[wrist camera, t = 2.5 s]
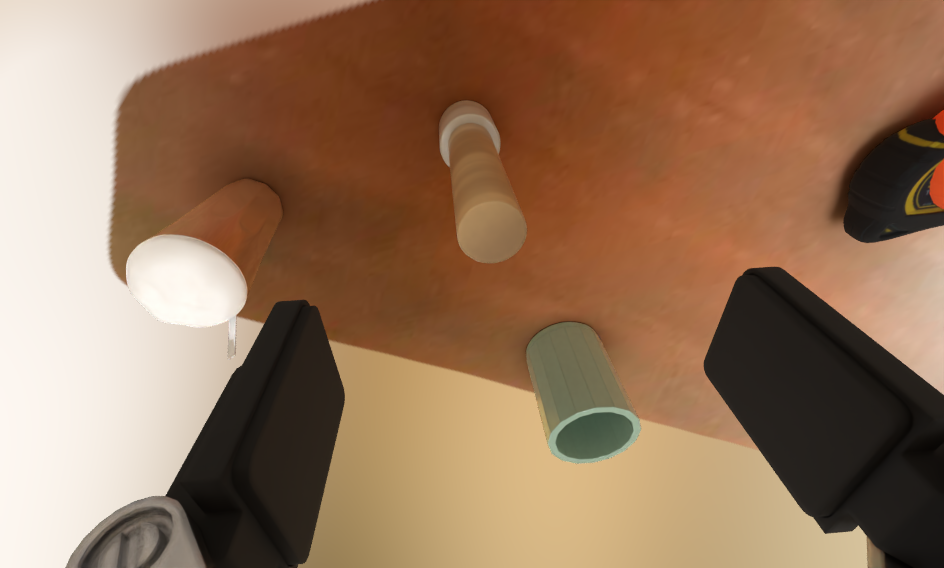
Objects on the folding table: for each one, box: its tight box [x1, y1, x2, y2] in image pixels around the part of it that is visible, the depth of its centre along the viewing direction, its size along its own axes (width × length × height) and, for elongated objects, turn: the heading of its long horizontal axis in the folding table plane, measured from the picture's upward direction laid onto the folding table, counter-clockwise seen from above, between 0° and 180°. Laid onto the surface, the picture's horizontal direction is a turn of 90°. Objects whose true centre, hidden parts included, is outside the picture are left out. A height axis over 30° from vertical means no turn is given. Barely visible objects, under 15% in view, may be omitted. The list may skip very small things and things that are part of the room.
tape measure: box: [843, 119, 944, 243], centre depth 24 cm, size 7×7×4 cm
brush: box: [439, 100, 527, 263], centre depth 18 cm, size 3×3×12 cm
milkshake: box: [126, 178, 283, 359], centre depth 20 cm, size 5×5×10 cm
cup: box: [526, 322, 641, 463], centre depth 30 cm, size 6×6×8 cm
